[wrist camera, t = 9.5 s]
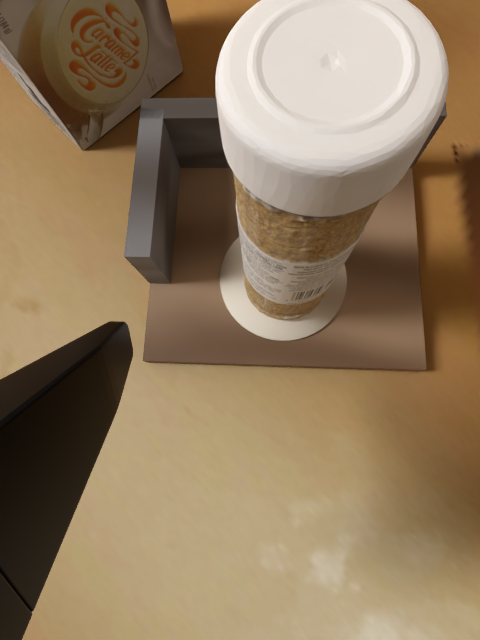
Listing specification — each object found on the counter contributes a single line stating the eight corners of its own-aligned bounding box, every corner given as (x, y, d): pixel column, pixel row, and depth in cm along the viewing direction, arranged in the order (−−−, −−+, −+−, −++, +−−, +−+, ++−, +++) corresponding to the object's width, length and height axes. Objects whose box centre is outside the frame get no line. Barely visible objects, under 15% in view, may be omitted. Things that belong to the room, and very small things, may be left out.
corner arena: (418, 371, 20) (470, 362, 15) (148, 362, 21) (113, 351, 16) (404, 160, 22) (444, 94, 17) (166, 161, 23) (141, 98, 18)
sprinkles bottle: (312, 235, 20) (410, -59, 7) (336, 312, 19) (499, 130, 6) (234, 255, 20) (189, -4, 7) (254, 332, 19) (242, 192, 6)
